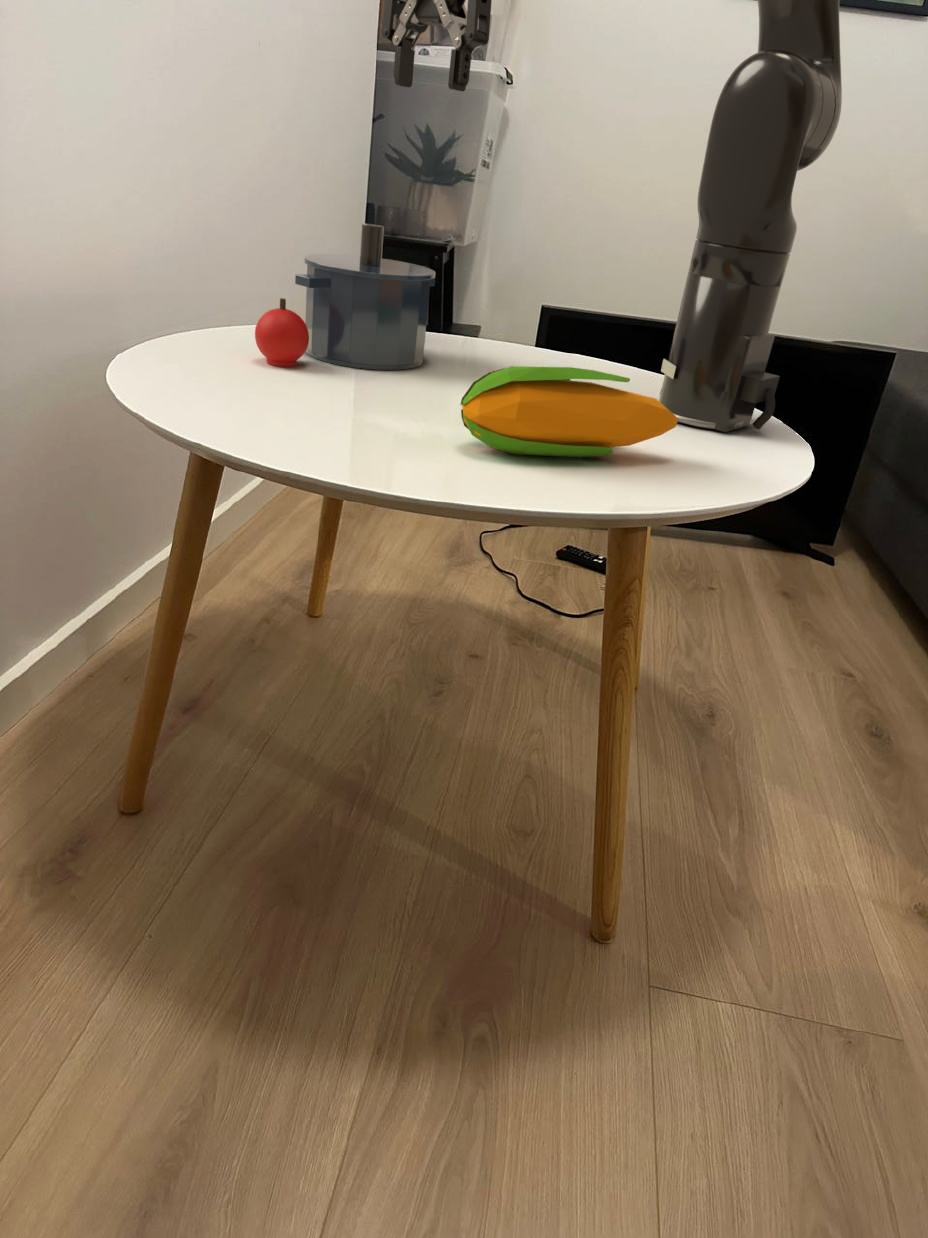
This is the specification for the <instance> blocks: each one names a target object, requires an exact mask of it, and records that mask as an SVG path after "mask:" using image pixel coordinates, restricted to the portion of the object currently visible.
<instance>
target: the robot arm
mask: <svg viewBox="0 0 928 1238" xmlns="http://www.w3.org/2000/svg"><path fill="white" fill-rule="evenodd" d="M466 1H467V8H466V5H465V3H466ZM757 7H758V41H757V52H756V53H753V54H752V55H750V56H749V57H747V58H745V59H744V60H742V62H741V63H739V65H737V66H736V67H735V69H734V70H733V71H732V72H731V73H730V75H729V77H728V78H727V80H726V82H725V83H724V85H723V87H722V89H721V92H720V93H719V96H718V99H717V102H716V104H715V107H714V111H713V115H712V120H711V123H710V128H709V133H708V138H707V144H706V149H705V153H704V158H703V164H702V169H701V176H700V180H699V186H698V193H697V214H698V227H697V233H696V240H695V241H694V246H693V250H692V255H691V259H690V263H689V266H688V267H689V268H688V272H687V276H686V281H685V284H684V290H683V292H682V293H683V294H682V297H681V302H680V307H679V311H678V316H677V319H676V324H675V328H674V332H673V336H672V337H673V338H672V340H671V347H670V350H669V354H668V359H666V358H663V360H662V363H661V369H660V372H661V373H663V374H664V377H663V381H662V384H661V389H660V392H659V398H658V401H659V402H660V403H662V404H663V405H664V406H665V407H666V408H667V409H668V410H669V411H670V412H672V413H673V414H674V415H675V416H676V417H677V418H678V422H677V423H681V424H684V425H688V426H692V427H698V428H703V429H711V430H716V431H719V432H723V433H728V432H731V431H734V430H737V429H741V428H744V427H748V426H752V427H753V428H754V429H756V430H761V429H762V427H764V426H765V425H766V423H767V422H769V420H770V419H771V418H772V416H773V415H774V412H775V409H776V397H775V395H776V391H777V389H778V384H779V381H780V377H781V376H780V375H777V374H773V373H770V372H766V369H767V365H768V363H769V360H770V359H769V358H770V355H771V353H772V348H773V344H774V341H775V335H774V333H772V332H769V331H770V328H771V324H772V321H773V317H774V313H775V310H776V306H777V303H778V299H779V295H780V292H781V289H782V284H783V282H784V277H785V274H786V271H787V267H788V263H789V259H790V256H791V254H790V253H792V250H793V246H794V242H795V239H796V235H797V231H798V224H797V221H796V219H795V216H794V212H793V205H792V204H793V203H792V201H793V191H794V186H795V183H796V178H797V173H798V171H801V170H804V169H805V168H807V167H809V166H811V165H812V164H813V163H815V162H816V161H817V160H818V159H819V158H820V157H821V156H822V155H823V154H824V152H825V151H826V150H827V149H828V147H829V145H830V144H831V141H833V138H834V136H835V133H836V130H837V128H838V126H839V123H840V122H839V121H840V118H841V114H842V101H843V93H842V91H843V89H842V88H843V87H842V85H843V84H842V60H841V58H842V57H841V27H840V26H841V25H840V0H757ZM491 11H492V0H384V10H383V20H382V29H381V36H382V38H383V39H385V40H388V41H390V42H391V43H392V44H393V45H394V60H393V61H394V62H393V63H394V64H393V79H394V84H395V85H396V86H398V87H403V88H412V86H413V80H414V79H413V78H414V67H415V64H414V63H415V53H416V50H415V49H414V47H415V45H416V43H417V41H418V40H419V38H420V36H421V35H422V34H423V33H425V32H426V31H427V29H428V28H429V26H431V27H436V26H439V25H441V26H443V27H444V29H445V30H447V32H448V35H449V37H450V40H451V43H452V45H453V47H454V48H451V52H450V60H449V70H448V71H449V72H448V73H449V74H448V80H447V81H448V82H447V86H448V88H449V90H451V91H456V92H465V91H466V89H467V86H468V84H469V81H470V73H471V63H472V57H473V56H472V55H473V52H474V51H475V49H476V48H478V47H480V46H486V45H488V43H489V39H490V29H491V28H490V27H491V15H492V13H491ZM394 21H395V25H394ZM761 402H765V405H764V406H765V407H764V410H763V411H762V413H761V414H760V415H759V416H758V417H757V418H756V419H755V420H754V421H752V420H753V419H752V418H753V415H754V412H755V408H756V404H757V403H761ZM751 422H752V424H751Z"/></svg>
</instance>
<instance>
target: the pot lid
mask: <svg viewBox="0 0 928 1238" xmlns="http://www.w3.org/2000/svg"><path fill="white" fill-rule="evenodd" d="M384 231H385V226H383V225H380V224H373V223H361V231H360V232H361V233H360V251H359V255H356V254H343V253H310V254H307V255H304V256H303V263H304V264H305V265H306V266H307V265H309V266H312V267H314V268H318V269H322V270H326V271H330V272H335V273H340V274H346V275H353V276H360V277H367V278H376V279H387V280H402V281H423V280H431V279H434V278H435V279H436V271H435V270H433V269H431V268H429V267H427V266H422V265H419V264H415V263H411V262H405V261H401V260H394V259H389V258H383V244H384V233H385V232H384Z"/></svg>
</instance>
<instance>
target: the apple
mask: <svg viewBox="0 0 928 1238" xmlns="http://www.w3.org/2000/svg"><path fill="white" fill-rule="evenodd" d="M286 304H287V299H286V298H285V297H280V298H279V308H278V307H277V308H273V309H270V310H268V311H266V312H265V313H263V314H262V315H261V316H260V318H259V319H258V320H257V323H256V325H255V328H254V339H255V343H256V347H257V349H258V350H259V352H260V353H261V354H262V356H263V357H265V358H266V359H265V361H266V363H267V364H268V365H271V366H274V367H283V368H291V367H296V366H297V365H298V360H299V359H301V358H303V356H304V354H305V353H306V349H307V347H308V343H309V333H308V329H307V326H306V324H305V322H306V321H304V319H303V318H302V317H301V316H300V315H299V314H297V312H295V311H292V310H291V309H287V307H286V306H287V305H286Z"/></svg>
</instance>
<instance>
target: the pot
mask: <svg viewBox="0 0 928 1238" xmlns="http://www.w3.org/2000/svg"><path fill="white" fill-rule="evenodd" d="M294 279H295V281H294V285H297V286H301V287H304V288H306V295H305V296H306V297H305V321H304V322H305V324H306V326H307V329H308V333H309V343H308V347H307V349H306V351H305V353H306V354H307V355H308V356H309V357H312V358H314V359H316V360H319V361H322V362H325V363H329V364H331V365H332V364H333V365H337V366H341V367H347V368H354V369H361V370H362V369H364V370H374V371H375V370H376V371H401V370H403V371H404V370H410V369H414V368H417V367H419V366H420V367H421V365H422V364H423V361H424V352H425V343H426V331H427V323H428V322H427V321H428V311H429V302H430V301H429V300H430V290H431V287H435V285H436V284H435V283H436V277H435V278H434V279H431V280H423V281H402V280H387V279H376V278H367V277H360V276H353V275H346V274H340V273H335V272H330V271H326V270H322V269H318V268H314V267H312V266H309V265H307V264H306V273H296V274H295V278H294Z"/></svg>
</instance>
